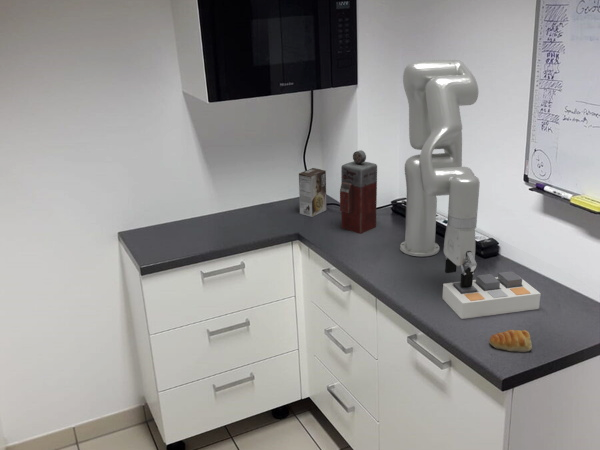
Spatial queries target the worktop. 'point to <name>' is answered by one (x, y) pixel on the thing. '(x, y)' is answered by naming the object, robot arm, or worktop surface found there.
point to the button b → (487, 282)
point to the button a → (465, 289)
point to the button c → (509, 279)
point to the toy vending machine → (358, 194)
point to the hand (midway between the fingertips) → (458, 279)
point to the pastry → (512, 341)
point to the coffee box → (312, 192)
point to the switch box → (491, 300)
